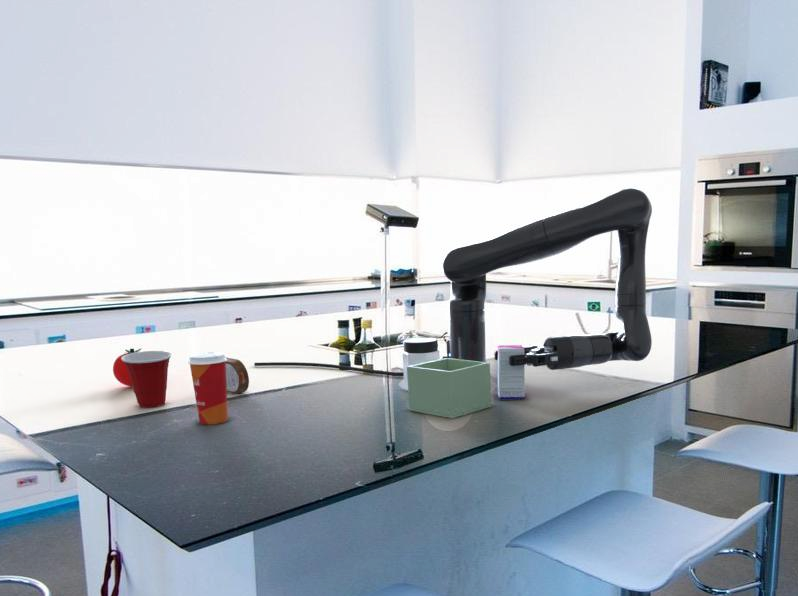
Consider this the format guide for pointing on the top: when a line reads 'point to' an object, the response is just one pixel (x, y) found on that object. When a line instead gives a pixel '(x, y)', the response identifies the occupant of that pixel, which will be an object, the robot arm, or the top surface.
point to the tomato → (122, 369)
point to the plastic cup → (148, 376)
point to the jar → (418, 353)
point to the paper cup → (210, 386)
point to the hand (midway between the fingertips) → (502, 358)
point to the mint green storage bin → (449, 387)
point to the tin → (236, 376)
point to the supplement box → (510, 373)
